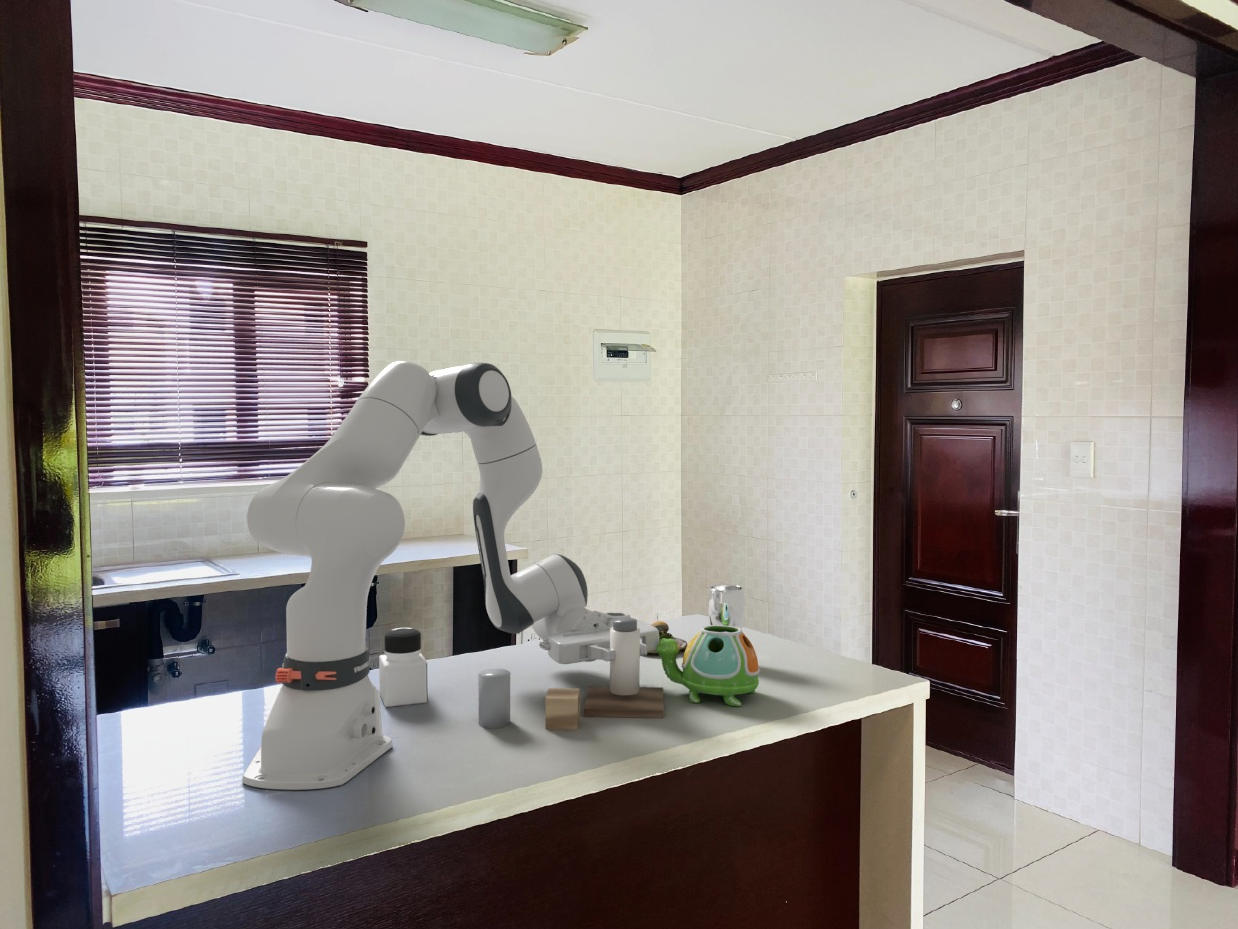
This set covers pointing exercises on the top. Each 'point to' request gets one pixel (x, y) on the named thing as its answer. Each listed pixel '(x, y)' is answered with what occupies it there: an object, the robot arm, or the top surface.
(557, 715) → the oak block
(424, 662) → the medicine bottle
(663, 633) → the burger
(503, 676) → the grey cylinder
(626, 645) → the plastic bottle
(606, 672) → the top surface
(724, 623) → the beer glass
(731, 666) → the turtle holder
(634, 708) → the walnut board
